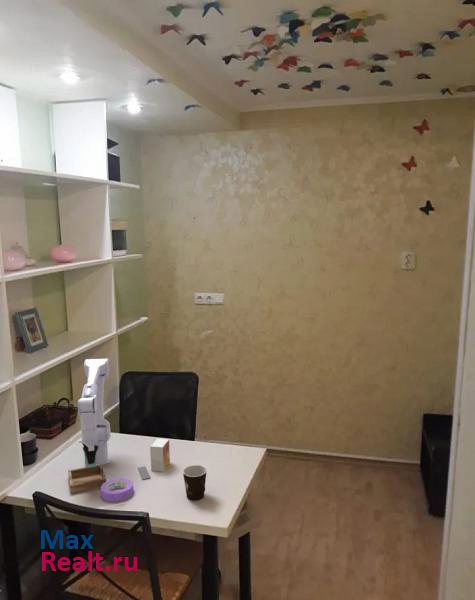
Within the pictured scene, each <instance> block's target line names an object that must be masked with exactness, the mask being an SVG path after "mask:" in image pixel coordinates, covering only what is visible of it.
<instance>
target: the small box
mask: <svg viewBox="0 0 475 600" xmlns="http://www.w3.org/2000/svg"><path fill="white" fill-rule="evenodd" d="M149 447H150V452H149V453H150V455H149V456H150V470H151V471H157V472H164V471H165V470H166V469H167V467H168V466H169V465H170V464H171V458H170V439H167V438H165V439H164V438H156V440H155V441H154V442H152V444H151V445H150V446H149Z"/></svg>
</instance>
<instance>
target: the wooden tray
mask: <svg viewBox="0 0 475 600" xmlns="http://www.w3.org/2000/svg"><path fill="white" fill-rule="evenodd" d="M67 473H68V483H69V490H70V491H69V492H70V494H71V495H72V494H76V493H83V492H87V491H92V490H96V489H97V490H98V489H101V486H102V484H103V483H105V482H106V481H107V477H106V474H104V468H103V464H100V465H96V467H90V468H86V467H79V468H74V469H68V472H67Z"/></svg>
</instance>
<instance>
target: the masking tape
mask: <svg viewBox="0 0 475 600" xmlns="http://www.w3.org/2000/svg"><path fill="white" fill-rule="evenodd" d="M119 488H121V489H119ZM114 489H119V490H114ZM100 494H101V496H100V497H101V499H102V500H103V501H106V502H110V503H116V502H117V503H118V502H123V501H126V500H128V499H129V498H130V497H132V496H133V494H134V482H133V481H132V480H131V479H129V478H127V477H116V478H111V479H109V480H106V482H105V483H103V484H102V486H101V488H100Z"/></svg>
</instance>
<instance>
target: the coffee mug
mask: <svg viewBox="0 0 475 600" xmlns="http://www.w3.org/2000/svg"><path fill="white" fill-rule="evenodd" d="M182 475H183V482H184V487H185V494H186V498H187V500H189V501H191V502H198V501H201V500H203V499H204V498H205V491H206V479H207V468H206V467H205V466H203V465H199V464H193V465H188V466H186V467H185V468H184V469H183V470H182Z"/></svg>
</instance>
